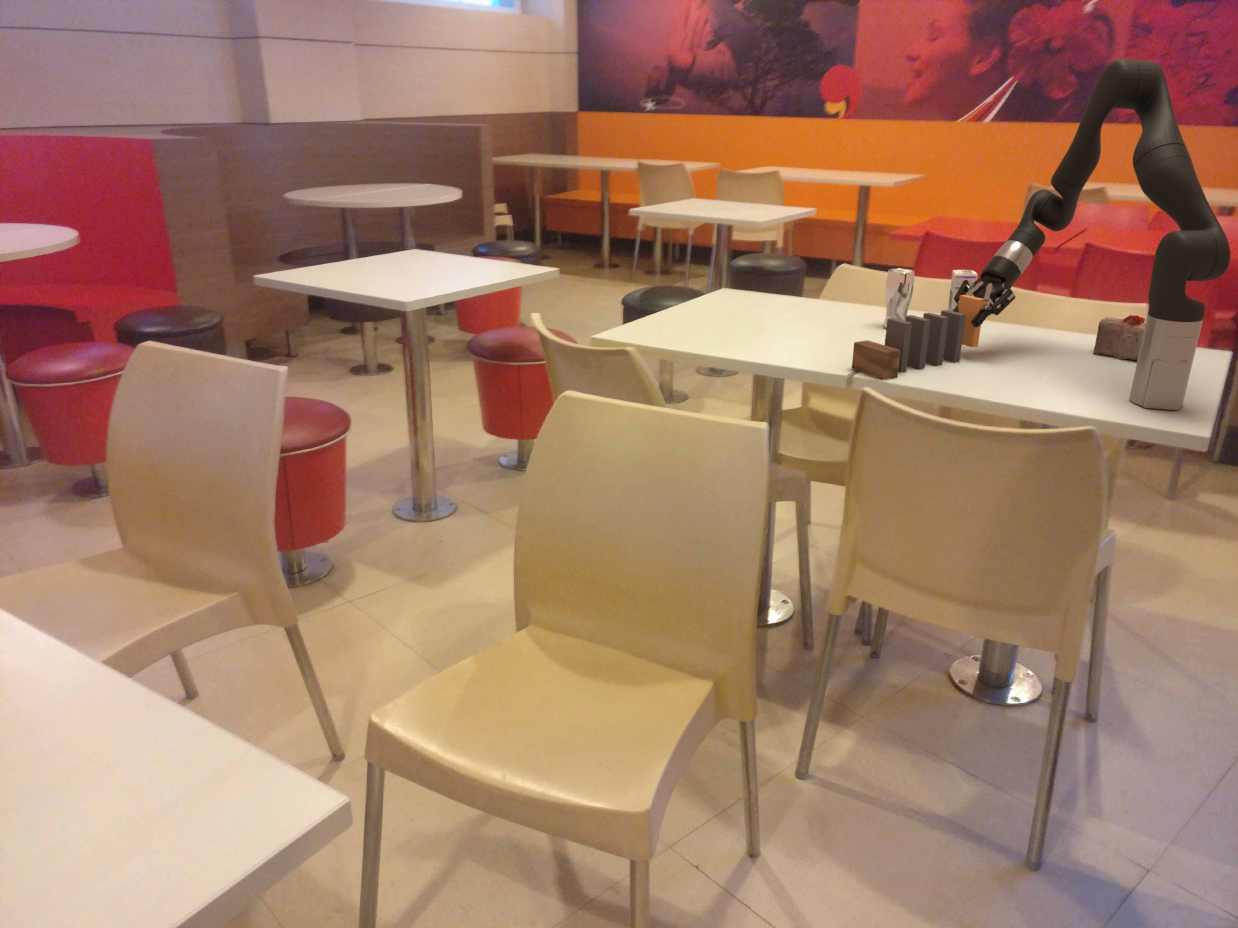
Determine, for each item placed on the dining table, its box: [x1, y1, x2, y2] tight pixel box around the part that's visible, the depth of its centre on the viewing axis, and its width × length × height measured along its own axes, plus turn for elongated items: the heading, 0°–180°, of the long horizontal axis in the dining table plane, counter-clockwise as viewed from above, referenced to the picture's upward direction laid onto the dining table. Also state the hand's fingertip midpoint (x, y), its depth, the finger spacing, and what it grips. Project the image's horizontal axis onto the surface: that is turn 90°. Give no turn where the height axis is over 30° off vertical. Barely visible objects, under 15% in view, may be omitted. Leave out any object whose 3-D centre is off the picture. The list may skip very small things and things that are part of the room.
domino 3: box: [922, 312, 949, 367], centre depth 203 cm, size 2×6×11 cm, turn 28°
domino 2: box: [905, 314, 931, 370], centre depth 201 cm, size 2×6×11 cm, turn 29°
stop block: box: [851, 339, 901, 380], centre depth 197 cm, size 4×10×6 cm, turn 28°
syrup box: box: [947, 269, 979, 311], centre depth 235 cm, size 6×6×14 cm
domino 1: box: [884, 318, 912, 374], centre depth 199 cm, size 2×6×11 cm, turn 29°
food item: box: [1093, 314, 1146, 362], centre depth 208 cm, size 14×8×10 cm, turn 46°
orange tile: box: [958, 295, 985, 348], centre depth 207 cm, size 2×6×11 cm, turn 28°
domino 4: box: [940, 309, 966, 364], centre depth 206 cm, size 2×6×11 cm, turn 29°
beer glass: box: [882, 268, 915, 330], centre depth 234 cm, size 7×7×15 cm
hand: (963, 322), depth 207 cm, fingers closed on orange tile, 5 cm apart
